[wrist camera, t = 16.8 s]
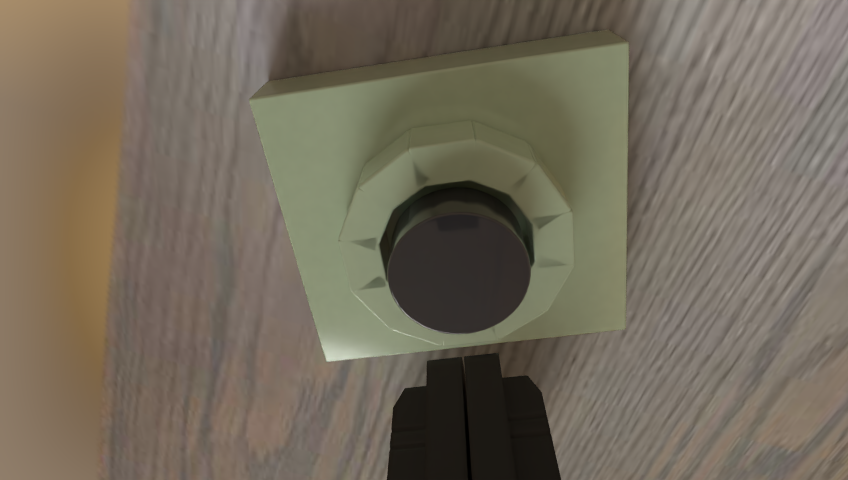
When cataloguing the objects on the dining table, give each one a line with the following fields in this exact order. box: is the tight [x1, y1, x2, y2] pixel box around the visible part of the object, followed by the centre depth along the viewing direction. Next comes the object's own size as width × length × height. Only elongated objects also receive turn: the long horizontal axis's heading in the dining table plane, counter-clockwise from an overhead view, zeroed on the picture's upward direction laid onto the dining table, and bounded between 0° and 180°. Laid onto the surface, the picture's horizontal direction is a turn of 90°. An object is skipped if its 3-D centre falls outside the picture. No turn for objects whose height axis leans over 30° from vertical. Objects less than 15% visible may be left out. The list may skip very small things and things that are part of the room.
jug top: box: [249, 29, 629, 362], centre depth 19 cm, size 11×10×4 cm
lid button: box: [387, 187, 531, 334], centre depth 17 cm, size 4×4×2 cm
